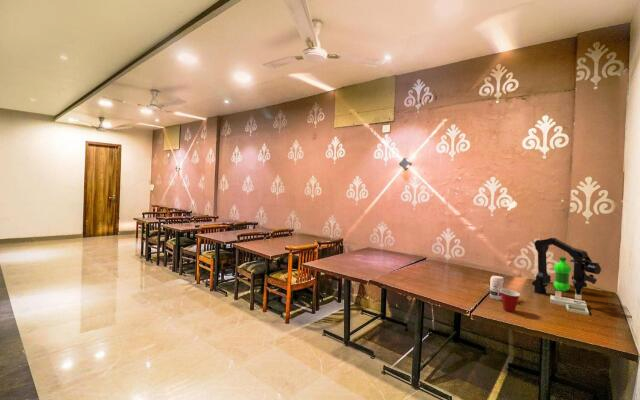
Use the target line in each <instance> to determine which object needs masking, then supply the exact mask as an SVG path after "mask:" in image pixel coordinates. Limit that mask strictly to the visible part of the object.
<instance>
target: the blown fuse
mask: <svg viewBox="0 0 640 400" xmlns="http://www.w3.org/2000/svg"><path fill="white" fill-rule="evenodd" d="M582 293H583V290H581V293H580V295H578V294H577V292H576V290H574V299H575V300H582V297H583V296H582Z"/></svg>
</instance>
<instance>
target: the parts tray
mask: <svg viewBox="0 0 640 400" xmlns="http://www.w3.org/2000/svg"><path fill="white" fill-rule="evenodd" d="M565 308H566V311H567V312H571V313H575V314H582V315H585V316H589V315H590V311H589V310H588V307H581V306H576V305H570V304H566V306H565Z"/></svg>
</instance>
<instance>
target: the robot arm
mask: <svg viewBox="0 0 640 400" xmlns="http://www.w3.org/2000/svg"><path fill="white" fill-rule="evenodd" d="M550 246H555V247H556V248H558V249H560V250H562V251H564V252H566V253H567V254H569V256H570V257H572V259H570V260H569V262H571V263H573V270H572V272H573V273H572V274H573V275H571V282H572V284H573V288H574V289H575V290H576V292H577V294H578V295H580V293H581V290H582V289H583V288H587V286H588V284H587V282H589V283H591V284H593V285H596V283H597V281H598V278H596V277H595V275H600V274H601V272H602V268H601V266H600V263H599V262H593V260H592V259H591V258H590V256H589V255H588V252H587V251H586V250H582V249H579V248H577V247H573V246H572V245H570V244H567V243H565V242H563V241H561V240H559V239H558V238H556V237H549V238H547V239H546V238H545V239H537V240H535V241H534V249H535V250H536V252H537V265H538V266H537V267H538V268H537V274H536V276H535V279H534V280H533V281H532V282H531V284H532V286H534V289H533V290H534V291H533V293H534V294H537V295H544V296H545V295H546V296H547V288H546V287H548V286H549V284H551V282H552V280H551V275H550V274H549V273H548V271H547V269H548V267H547V266H548V265H547V252H548V250H549V248H550ZM586 272H587V273H590V274H587V273H586ZM594 274H595V275H594ZM575 290H574V291H575ZM582 291H583V290H582Z"/></svg>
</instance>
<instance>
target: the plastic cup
mask: <svg viewBox="0 0 640 400" xmlns="http://www.w3.org/2000/svg"><path fill="white" fill-rule="evenodd" d="M500 292H501V296H502V300H501V302H502V308H503V311H504V310H505V312H507V313H515V310H516V308H517V304H518V300H519V298H520V296H521V293H520V292H518V291H515V290H512V289H507V288H504V289H501V290H500Z"/></svg>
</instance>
